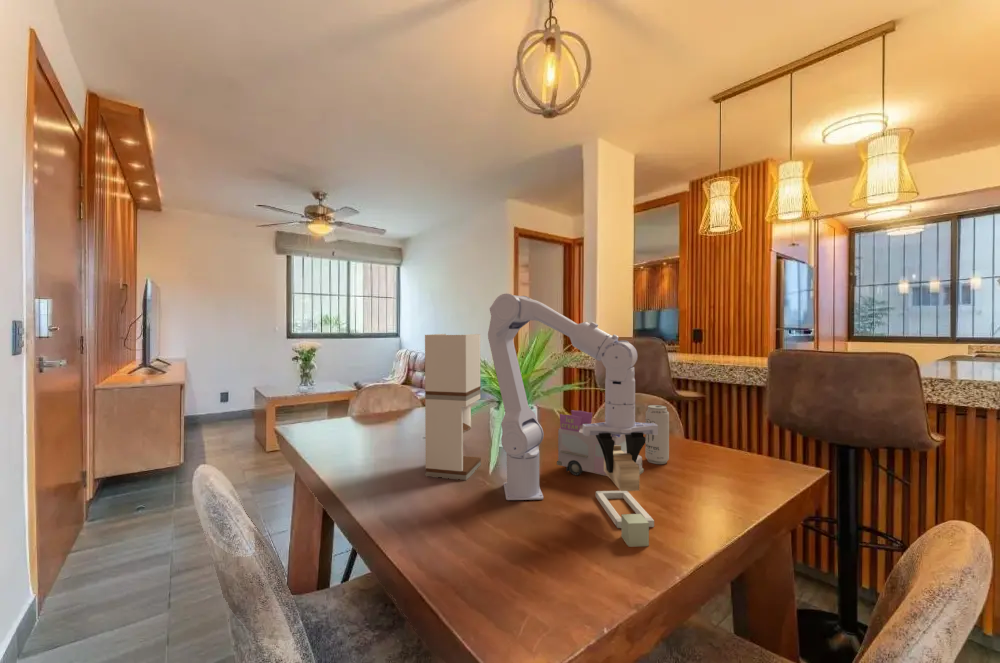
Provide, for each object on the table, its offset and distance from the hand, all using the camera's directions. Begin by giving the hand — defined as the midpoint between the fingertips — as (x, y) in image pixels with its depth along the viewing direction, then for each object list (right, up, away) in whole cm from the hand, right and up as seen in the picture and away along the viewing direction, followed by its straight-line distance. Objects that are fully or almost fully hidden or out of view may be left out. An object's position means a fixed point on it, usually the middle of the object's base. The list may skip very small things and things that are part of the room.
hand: (619, 470), depth 85 cm
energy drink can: (+19, -8, +32) cm, 38 cm away
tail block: (0, -9, -11) cm, 14 cm away
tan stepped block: (0, -2, 0) cm, 2 cm away
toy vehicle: (+1, -8, +21) cm, 23 cm away
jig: (+1, -8, +1) cm, 9 cm away
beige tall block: (-36, -8, +25) cm, 44 cm away
